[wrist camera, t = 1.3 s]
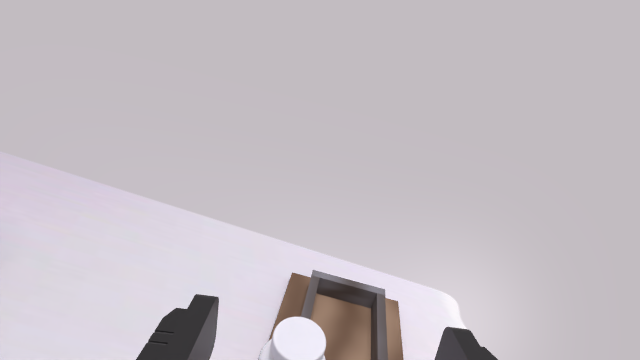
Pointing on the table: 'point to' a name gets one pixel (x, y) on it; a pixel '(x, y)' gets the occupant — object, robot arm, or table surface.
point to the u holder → (345, 316)
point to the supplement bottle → (295, 341)
